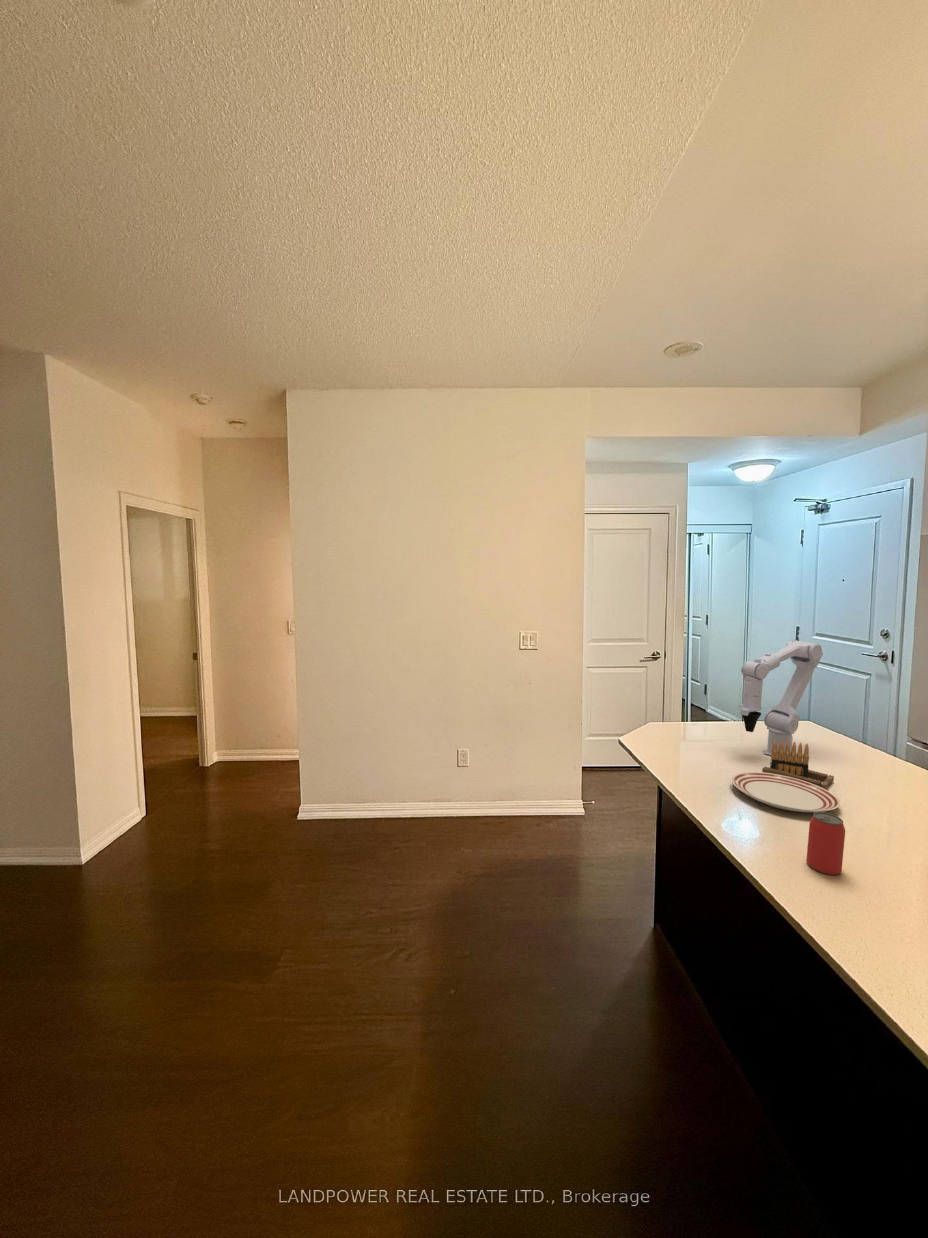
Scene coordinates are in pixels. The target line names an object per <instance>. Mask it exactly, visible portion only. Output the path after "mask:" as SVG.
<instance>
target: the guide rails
mask: <svg viewBox="0 0 928 1238" xmlns="http://www.w3.org/2000/svg"><path fill="white" fill-rule="evenodd" d="M769 763H770V764H769V767H768V766H764V767H762V771H761V772H763V773H772V774H778V775H783V776H788V777H792V778H796V779H800V780H803V781H806V782H809V783H812V784H814V785H817V786H819V787H822V788H824V789H826V790H827V791H828V790H829V788H830V787H831V786H832V784H833V783H834V780H835V776H834V775H832V774H831V775H830V774H827V773H823V772H819V771H815V770H812V769H808V778H806V777H802V776H799V775H795V774H791V773H787V772H784V771H780V770H776V769H772V768H770V765H771V761H770V762H769ZM789 767H790V765H789ZM795 770H796V767H795ZM801 773H802V771H801Z"/></svg>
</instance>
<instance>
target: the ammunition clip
mask: <svg viewBox="0 0 928 1238" xmlns="http://www.w3.org/2000/svg"><path fill="white" fill-rule="evenodd" d="M809 750H810V747H809V744H808V743H805V746H804V751H803V743H802V741H800V743H799V744H798V748H797V743H796V741H793V742H792V751H791V756H790V743H789V741H787V744H786V749H785V753H784V744H783V740H781V742H780V746H779V751H777V740H776V739H775V741H774V744H773V750H772V756H771V759H770V762H771V765H770V764H769V768H772V769H776V770H780V771H784V772H787V773H791V774H795V775H799V776H802V777H806V778H808V770H809V763H810V762H809V760H810V756H809V754H810V753H809ZM777 755H778V757H777ZM789 765H790V767H789ZM795 767H796V770H795ZM801 771H802V773H801Z"/></svg>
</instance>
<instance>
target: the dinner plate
mask: <svg viewBox="0 0 928 1238" xmlns="http://www.w3.org/2000/svg"><path fill="white" fill-rule="evenodd" d="M731 783H732V785H733V786H734V787H735V788H736V789H738V790H739V792H741V793H743V794H744V795H746V796H748V797H750V798H751V799H754V800H755V801H757V802H759V803H762V804H764V805H767V806H769V807H772V808H775V809H779V810H783V811H789V812H796V813H815V812H824V813H825V812H829V811H833V810H835V809H837V808H839V807H840V806H841V801H840V799H839V798H838V797H837V796H836V795H835V794H834V793H832V792H831V791H830V790H828V789H827V790H826V789H824V788H822V787H819V786H817V785H814V784H812V783H809V782H806V781H803V780H800V779H796V778H792V777H788V776H783V775H778V774H772V773H763V772H762V771H747V772H746V771H744V772H739V773H736V774H734V775H732V777H731Z"/></svg>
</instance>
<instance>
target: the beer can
mask: <svg viewBox="0 0 928 1238" xmlns="http://www.w3.org/2000/svg"><path fill="white" fill-rule="evenodd" d="M812 813H813V814H812V817H811V818H810V821H809V823H808V824H809V826H808V837H807V850H806V858H805V860H806V863H807V865H808V866H809V867H811V868H812V869H814V870H815V871H817V872H818V873H822V874H826V875H832V876H833V875H834V876H836V875H839V874H841V873H842V869H843V863H844V861H843V859H844V849H845V839H846V827H845V825H844V821H843V819H842V818H840V817H839V816H838V815H835V814H832V813H830V812H825V811H824V812H812Z"/></svg>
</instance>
